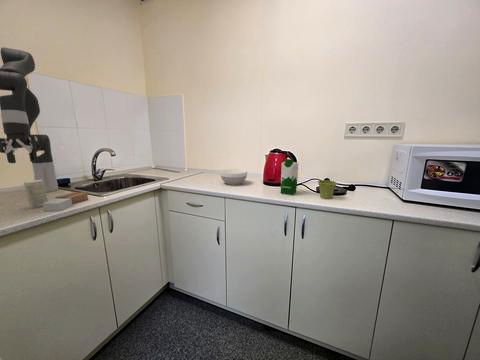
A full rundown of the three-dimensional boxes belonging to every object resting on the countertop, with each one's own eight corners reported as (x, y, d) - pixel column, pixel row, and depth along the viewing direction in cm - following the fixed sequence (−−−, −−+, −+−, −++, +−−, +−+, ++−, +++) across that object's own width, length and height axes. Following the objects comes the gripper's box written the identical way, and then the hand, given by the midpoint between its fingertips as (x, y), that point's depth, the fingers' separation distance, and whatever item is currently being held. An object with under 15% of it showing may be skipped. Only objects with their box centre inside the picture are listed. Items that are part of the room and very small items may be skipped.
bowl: (236, 188, 132) (235, 174, 131) (214, 183, 144) (214, 171, 142) (252, 182, 147) (252, 170, 145) (231, 179, 158) (231, 168, 156)
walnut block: (56, 204, 101) (55, 196, 100) (74, 199, 110) (73, 191, 109) (71, 205, 99) (69, 197, 98) (88, 200, 108) (87, 192, 107)
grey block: (44, 211, 91) (42, 203, 91) (57, 206, 98) (56, 198, 97) (60, 211, 92) (58, 203, 91) (72, 206, 98) (71, 198, 98)
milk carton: (278, 193, 120) (280, 159, 115) (283, 190, 127) (285, 157, 123) (293, 196, 115) (295, 160, 111) (298, 192, 123) (300, 158, 119)
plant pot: (328, 201, 106) (329, 184, 104) (313, 196, 114) (314, 181, 112) (339, 198, 111) (340, 182, 109) (323, 194, 119) (325, 179, 117)
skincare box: (47, 203, 102) (42, 179, 99) (48, 205, 99) (43, 180, 97) (28, 206, 97) (23, 181, 94) (30, 208, 94) (24, 182, 92)
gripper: (42, 123, 89) (48, 161, 91) (7, 125, 88) (14, 163, 90) (25, 120, 81) (32, 161, 83) (-13, 122, 81) (-5, 163, 82)
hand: (23, 162), depth 87 cm, fingers open, 8 cm apart
